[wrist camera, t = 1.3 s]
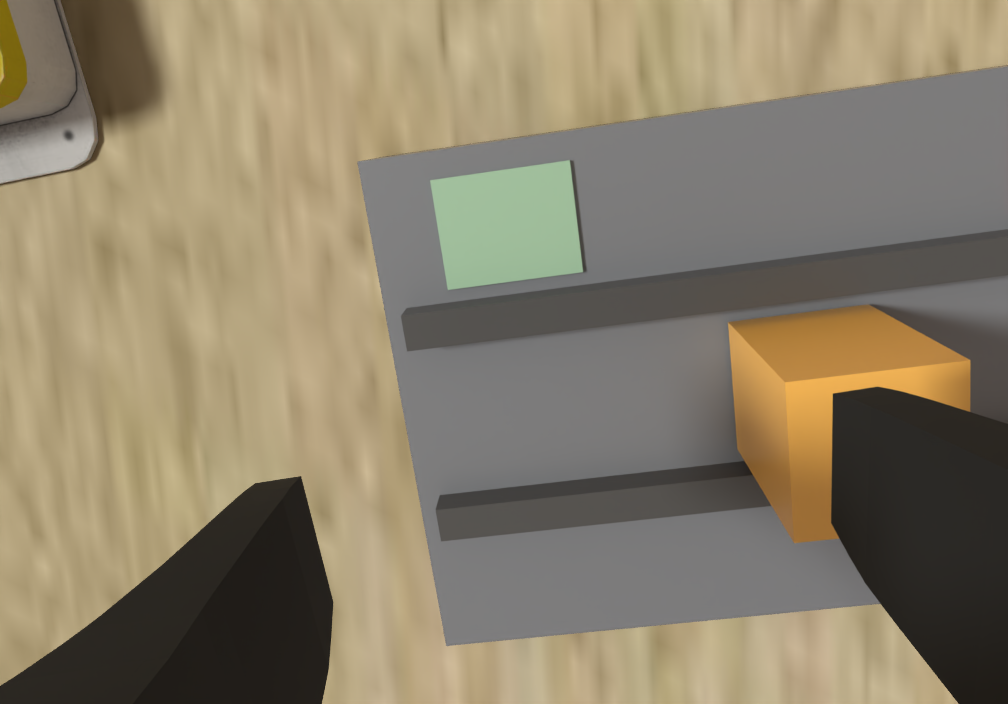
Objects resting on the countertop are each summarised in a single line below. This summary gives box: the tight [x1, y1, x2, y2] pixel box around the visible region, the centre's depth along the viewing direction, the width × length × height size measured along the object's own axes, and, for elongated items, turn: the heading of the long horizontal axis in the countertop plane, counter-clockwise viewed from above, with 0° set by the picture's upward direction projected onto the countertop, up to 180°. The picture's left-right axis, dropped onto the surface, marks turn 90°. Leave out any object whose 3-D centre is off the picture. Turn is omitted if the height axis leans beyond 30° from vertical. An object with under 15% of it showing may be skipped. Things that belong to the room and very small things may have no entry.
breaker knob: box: [728, 304, 970, 543], centre depth 16 cm, size 3×3×4 cm
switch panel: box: [358, 65, 1008, 646], centre depth 20 cm, size 12×18×4 cm, turn 98°
